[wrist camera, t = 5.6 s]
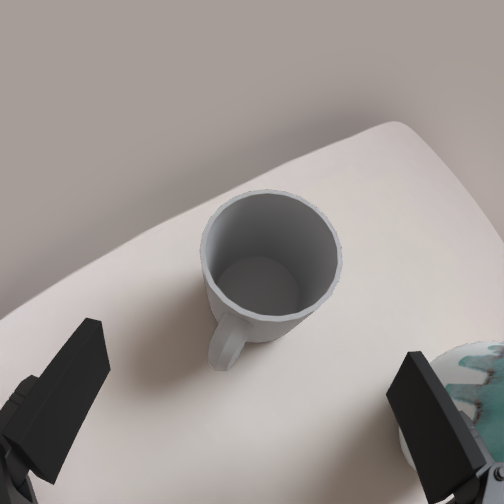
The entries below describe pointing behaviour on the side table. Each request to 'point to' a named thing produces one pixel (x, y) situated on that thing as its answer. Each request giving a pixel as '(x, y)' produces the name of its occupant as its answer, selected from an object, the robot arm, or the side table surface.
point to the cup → (265, 268)
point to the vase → (474, 390)
